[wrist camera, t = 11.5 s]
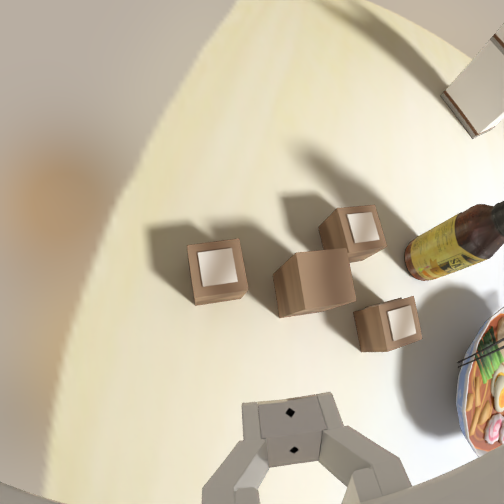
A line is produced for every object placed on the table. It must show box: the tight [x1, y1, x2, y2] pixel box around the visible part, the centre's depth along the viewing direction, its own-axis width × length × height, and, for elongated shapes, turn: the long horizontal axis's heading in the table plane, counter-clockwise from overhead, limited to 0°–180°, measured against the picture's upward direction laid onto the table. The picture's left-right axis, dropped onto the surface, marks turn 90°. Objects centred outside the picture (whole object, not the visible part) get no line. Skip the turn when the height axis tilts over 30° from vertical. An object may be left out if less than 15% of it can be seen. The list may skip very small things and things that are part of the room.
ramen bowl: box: [456, 307, 504, 457], centre depth 33 cm, size 25×23×8 cm
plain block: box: [273, 248, 356, 318], centre depth 32 cm, size 5×5×9 cm
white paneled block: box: [353, 296, 422, 352], centre depth 34 cm, size 5×5×6 cm
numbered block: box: [187, 238, 249, 306], centre depth 33 cm, size 5×5×6 cm
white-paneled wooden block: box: [318, 205, 387, 263], centre depth 36 cm, size 5×5×6 cm
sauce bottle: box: [405, 201, 504, 281], centre depth 31 cm, size 6×6×20 cm
